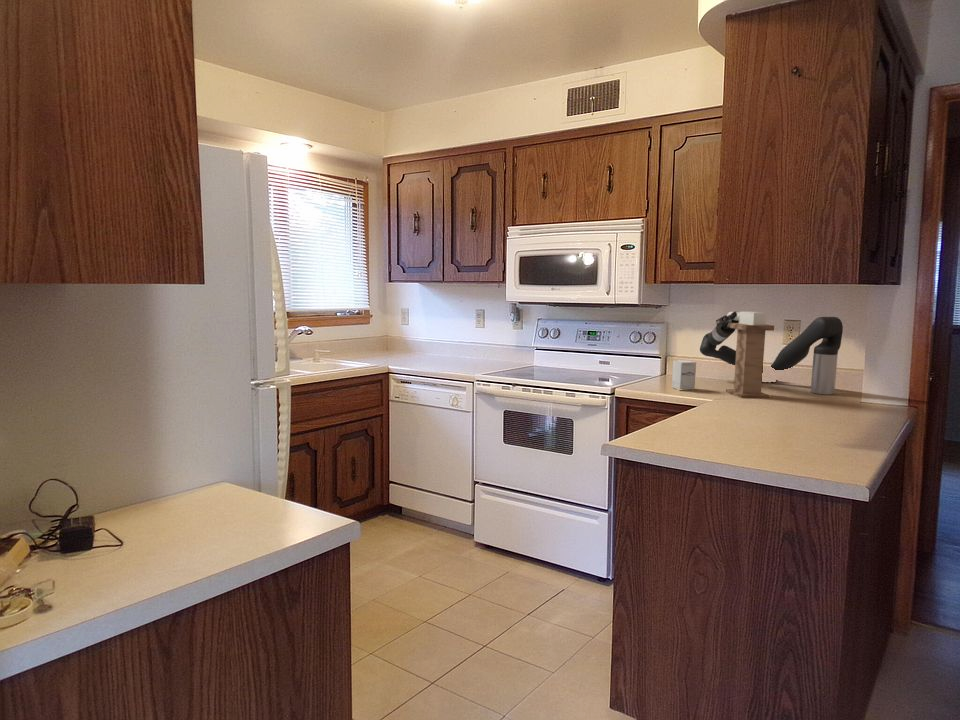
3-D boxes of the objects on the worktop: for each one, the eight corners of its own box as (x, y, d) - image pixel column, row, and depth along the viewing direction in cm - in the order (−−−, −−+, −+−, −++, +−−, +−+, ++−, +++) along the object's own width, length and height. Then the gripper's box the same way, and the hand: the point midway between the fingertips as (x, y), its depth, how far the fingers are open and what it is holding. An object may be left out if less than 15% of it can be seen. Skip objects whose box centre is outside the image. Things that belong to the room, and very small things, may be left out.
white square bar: (725, 321, 290) (725, 309, 290) (736, 321, 291) (736, 310, 290) (753, 325, 265) (754, 313, 265) (764, 325, 266) (765, 313, 265)
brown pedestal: (725, 392, 282) (730, 322, 278) (752, 392, 283) (757, 323, 279) (741, 398, 268) (746, 325, 264) (769, 398, 269) (774, 325, 265)
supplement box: (679, 390, 283) (681, 362, 282) (671, 388, 290) (672, 360, 289) (695, 390, 285) (696, 362, 283) (686, 387, 292) (688, 359, 290)
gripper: (739, 338, 296) (757, 321, 281) (709, 337, 295) (726, 321, 279) (736, 323, 299) (754, 305, 284) (707, 322, 298) (723, 305, 282)
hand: (740, 313), depth 282 cm, fingers closed on white square bar, 3 cm apart
